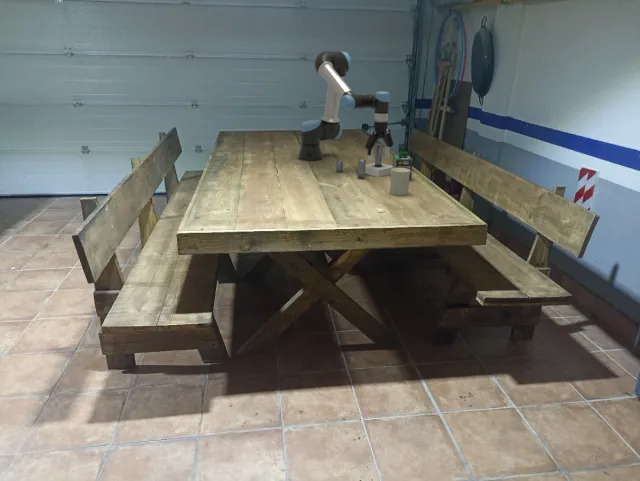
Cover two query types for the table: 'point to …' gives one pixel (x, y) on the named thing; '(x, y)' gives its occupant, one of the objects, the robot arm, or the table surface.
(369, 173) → the socket block
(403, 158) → the chalk box
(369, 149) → the robot arm
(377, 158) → the long pin
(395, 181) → the can
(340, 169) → the short pin
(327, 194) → the table surface
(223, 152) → the table surface
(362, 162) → the medium pin
